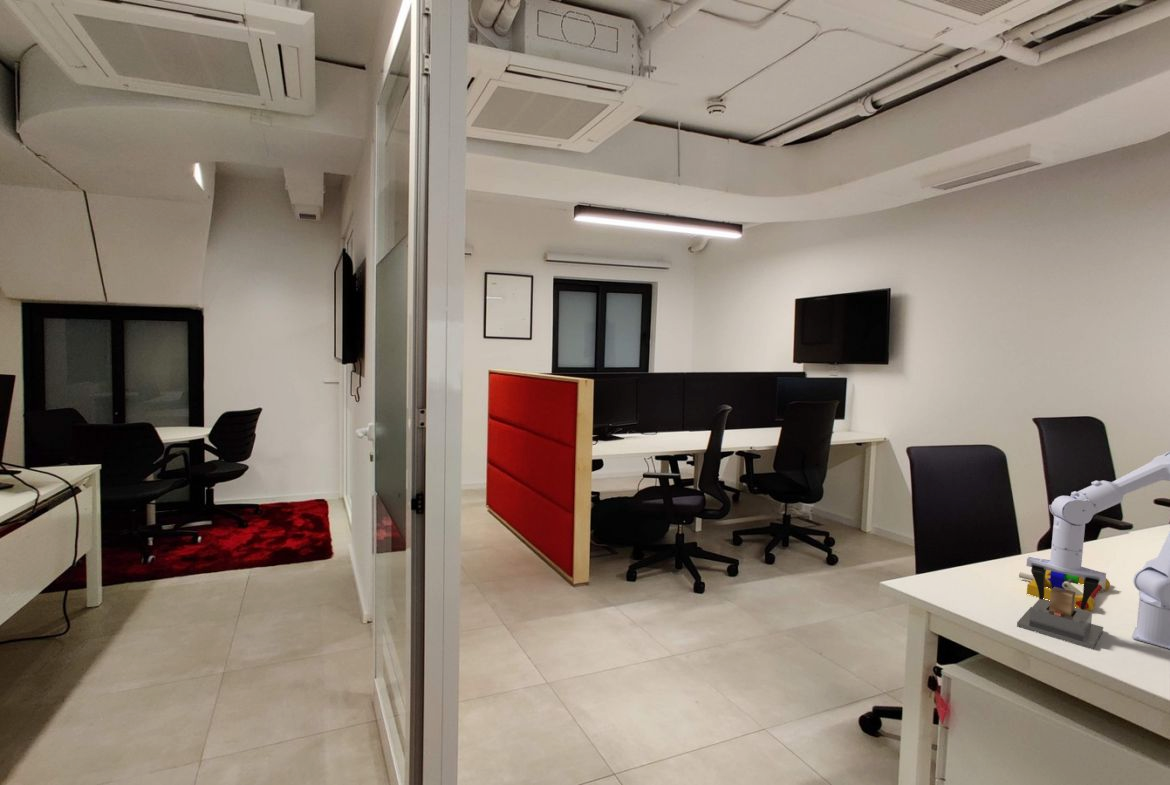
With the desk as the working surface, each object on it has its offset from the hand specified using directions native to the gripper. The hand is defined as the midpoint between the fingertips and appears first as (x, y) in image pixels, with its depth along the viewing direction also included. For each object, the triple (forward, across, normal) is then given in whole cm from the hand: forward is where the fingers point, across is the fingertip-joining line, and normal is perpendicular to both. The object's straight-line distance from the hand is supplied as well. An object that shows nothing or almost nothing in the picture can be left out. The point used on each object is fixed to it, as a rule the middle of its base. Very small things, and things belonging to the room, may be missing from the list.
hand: (1061, 603), depth 140 cm
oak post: (+5, 0, 0) cm, 5 cm away
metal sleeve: (+6, 0, 0) cm, 6 cm away
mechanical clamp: (+7, +3, -33) cm, 34 cm away
